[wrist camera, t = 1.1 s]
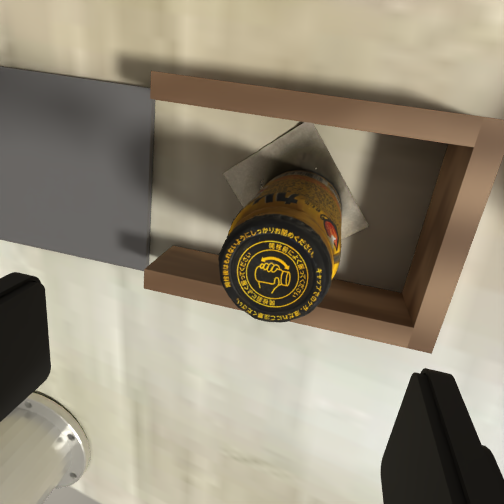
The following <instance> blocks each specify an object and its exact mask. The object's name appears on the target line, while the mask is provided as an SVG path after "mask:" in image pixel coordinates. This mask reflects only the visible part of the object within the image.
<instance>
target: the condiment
mask: <svg viewBox="0 0 504 504" xmlns="http://www.w3.org/2000/svg"><path fill="white" fill-rule="evenodd" d="M315 168H317V169H315ZM223 175H224V177H225V178H226V180H227V182H228V184H229V185H230V187H231V188H232V190H233V191H234V193H235V195H236V197H237V198H238V200H239V201H240V203H241V205H242V206H243V209H242V210H241V211H240V212H239V214H238V215H237V216H236V218H235V219H234V221H233V222H232V225H231V228H230V230H229V233H228V236H227V239H226V240H225V243H224V245H223V247H222V250H221V252H220V254H219V258H218V260H219V272H220V280H221V283H222V285H223V288H224V289H225V291H226V293H227V294H228V296H229V297H230V298H231V300H232V301H233V303H234V304H235V305H236V306H237V307H238V308H239V309H241V310H243V311H245V312H246V313H248V314H249V315H250V316H252V317H253V318H255V319H258V320H262V321H267V322H287V321H291V320H293V319H297V318H300V317H303V316H305V315H307V314H309V313H310V312H312V311H313V310H314V309H315V308H316V307H317V305H319V304H320V303H321V302H322V300H323V298H324V296H325V295H326V294H327V293H328V290H329V288H330V285H331V281H332V279H333V277H334V276H335V274H336V272H337V269H338V266H339V262H340V256H341V240H342V239H344V238H346V237H348V236H351V235H352V234H355V233H357V232H359V231H361V230H363V229H365V228H367V227H369V225H368V224H367V222H366V220H365V218H364V216H363V214H362V212H361V211H360V209H359V207H358V205H357V203H356V201H355V200H354V198H353V196H352V194H351V192H350V190H349V188H348V186H347V185H346V183H345V181H344V179H343V177H342V176H341V174H340V172H339V170H338V168H337V166H336V165H335V163H334V161H333V159H332V157H331V155H330V153H329V151H328V150H327V148H326V146H325V144H324V142H323V140H322V139H321V137H320V135H319V133H318V131H317V130H316V128H315V126H314V124H313V123H308V122H304V123H302V124H301V125H299V126H298V127H296V128H294V129H293V130H291V131H290V132H288V133H287V134H285V135H283V136H282V137H280V138H278V139H277V140H275V141H274V142H272V143H271V144H269V145H267V146H266V147H264V148H263V149H261V150H259V151H258V152H256V153H255V154H253V155H251V156H250V157H248V158H247V159H245V160H243V161H242V162H240V163H239V164H237V165H235V166H234V167H232V168H231V169H229V170H227V171H226V172H224V173H223ZM261 180H263V184H261ZM261 186H262V187H263V188H262V189H260V188H261Z"/></svg>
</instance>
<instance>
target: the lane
mask: <svg viewBox="0 0 504 504" xmlns="http://www.w3.org/2000/svg"><path fill="white" fill-rule="evenodd" d="M150 99H154V100H161V101H168V102H174V103H181V104H188V105H194V106H201V107H208V108H214V109H221V110H228V111H234V112H241V113H248V114H255V115H261V116H268V117H275V118H281V119H288V120H295V121H301V122H308V123H315V124H321V125H328V126H335V127H341V128H348V129H355V130H361V131H368V132H375V133H381V134H388V135H395V136H401V137H408V138H415V139H421V140H428V141H435V142H441V143H448V146H447V149H446V153H445V156H444V159H443V162H442V165H441V169H440V172H439V175H438V178H437V182H436V185H435V188H434V191H433V195H432V198H431V201H430V204H429V208H428V211H427V214H426V217H425V221H424V224H423V227H422V230H421V233H420V237H419V240H418V243H417V246H416V250H415V253H414V256H413V259H412V263H411V266H410V269H409V272H408V276H407V279H406V282H405V285H404V288H403V292H402V293H399V292H395V291H390V290H385V289H380V288H375V287H371V286H366V285H361V284H356V283H351V282H346V281H342V280H337V279H332V281H331V285H330V288H329V290H328V293H327V294H326V295H325V296H324V298H323V300H322V302H321V303H320V304H319V305H317V307H316V308H315V309H314V310H313V311H312V312H310V313H309V314H307V315H305V316H303V317H300V318H297V319H293V320H291V321H290V322H295V323H299V324H303V325H308V326H312V327H317V328H321V329H325V330H330V331H334V332H339V333H343V334H348V335H352V336H356V337H361V338H365V339H370V340H374V341H378V342H383V343H387V344H392V345H396V346H400V347H405V348H409V349H414V350H418V351H423V352H427V353H431V354H432V351H433V348H434V345H435V343H436V340H437V337H438V335H439V332H440V329H441V326H442V324H443V321H444V318H445V315H446V313H447V310H448V307H449V304H450V302H451V299H452V296H453V293H454V291H455V288H456V285H457V282H458V280H459V277H460V274H461V271H462V269H463V266H464V263H465V260H466V258H467V255H468V252H469V249H470V247H471V244H472V241H473V238H474V236H475V233H476V230H477V227H478V225H479V222H480V219H481V216H482V214H483V211H484V208H485V205H486V203H487V200H488V197H489V194H490V192H491V189H492V186H493V183H494V181H495V178H496V175H497V172H498V170H499V167H500V164H501V161H502V159H503V156H504V120H502V119H495V118H488V117H480V116H473V115H466V114H459V113H451V112H444V111H437V110H430V109H423V108H415V107H408V106H401V105H394V104H386V103H379V102H372V101H365V100H358V99H350V98H343V97H336V96H329V95H322V94H314V93H307V92H300V91H293V90H285V89H278V88H271V87H264V86H257V85H249V84H242V83H235V82H228V81H220V80H213V79H206V78H199V77H192V76H184V75H177V74H170V73H163V72H155V71H151V88H150ZM218 258H219V255H216V254H211V253H206V252H201V251H197V250H192V249H187V248H182V247H177V246H172V247H171V248H169V249H168V250H167V251H166V252H165V253H163V254H162V255H161V256H160V257H158V258H157V259H156V260H155V261H154V262H152V263H151V264H150V265H149V266H147V267H146V268H145V269H144V288H145V289H149V290H153V291H158V292H162V293H167V294H171V295H176V296H180V297H184V298H189V299H193V300H198V301H202V302H206V303H211V304H215V305H220V306H224V307H228V308H233V309H237V310H241V309H239V308H238V307H237V306H236V305H235V304H234V303H233V301H232V300H231V298H230V297H229V296H228V294H227V293H226V291H225V289H224V288H223V285H222V283H221V280H220V272H219V260H218ZM242 311H243V310H242Z"/></svg>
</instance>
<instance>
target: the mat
mask: <svg viewBox="0 0 504 504" xmlns="http://www.w3.org/2000/svg"><path fill="white" fill-rule="evenodd" d="M154 119H155V100H154V99H150V88H146V87H139V86H132V85H125V84H118V83H111V82H104V81H97V80H91V79H84V78H77V77H70V76H63V75H56V74H49V73H43V72H36V71H29V70H22V69H15V68H8V67H1V66H0V240H5V241H10V242H14V243H19V244H23V245H28V246H32V247H37V248H41V249H46V250H51V251H55V252H60V253H64V254H69V255H73V256H78V257H82V258H87V259H91V260H96V261H101V262H105V263H110V264H114V265H119V266H123V267H128V268H132V269H137V270H142V271H144V269H145V268H146V267H147V266H149V250H150V224H151V198H152V172H153V145H154Z"/></svg>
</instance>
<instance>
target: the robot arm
mask: <svg viewBox="0 0 504 504" xmlns="http://www.w3.org/2000/svg"><path fill="white" fill-rule="evenodd" d="M50 370H51V362H50V349H49V336H48V323H47V310H46V297H45V288H44V286H43V285H42V284H41V282H40V280H39V278H37V277H35V276H30V275H26V274H22V273H17V272H14V273H10V274H8V275H6V276H4V277H2V278H0V504H43V503H44V502H45V500H46V499H47V498H48V496H49V495H50V494H51V493H52V491H53V490H54V489H55V488H62V487H67V486H70V485H72V484H74V483H75V482H77V481H78V480H79V479H80V478H81V476H82V475H83V474H84V472H85V471H86V469H87V467H88V465H89V461H90V448H89V444H88V440H87V438H86V436H85V433H84V431H83V430H82V428H81V427H80V425H79V424H78V422H77V421H76V420H75V419H74V418H73V417H72V415H71V414H70V413H69V412H67V411H66V410H65V409H64V408H63V407H62V406H60V405H59V404H57V403H56V402H54V401H53V400H51V399H49V398H46V397H44V396H42V395H39V394H36V393H33V392H34V391H35V390H36V389H37V388H38V387H39V386H40V385H41V384H42V383H43V382H44V381H45V380H46V379H47V377H48V376H49V373H50ZM381 482H382V492H383V502H384V504H504V479H503V476H502V474H501V472H500V469H499V467H498V465H497V462H496V460H495V458H494V456H493V454H492V452H491V451H490V449H488V448H487V447H486V446H483V445H481V442H480V440H479V438H478V435H477V433H476V430H475V428H474V425H473V423H472V421H471V418H470V416H469V413H468V411H467V408H466V406H465V403H464V401H463V399H462V396H461V394H460V391H459V389H458V386H457V384H456V381H455V379H454V377H453V376H452V375H451V374H448V373H443V372H439V371H435V370H431V369H426V368H425V369H423V370H422V371H421V373H420V374H419V373H413V374H412V376H411V378H410V381H409V384H408V387H407V390H406V393H405V395H404V398H403V401H402V404H401V407H400V410H399V412H398V415H397V418H396V421H395V424H394V427H393V429H392V432H391V435H390V438H389V441H388V444H387V446H386V449H385V452H384V455H383V458H382V463H381Z"/></svg>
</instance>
